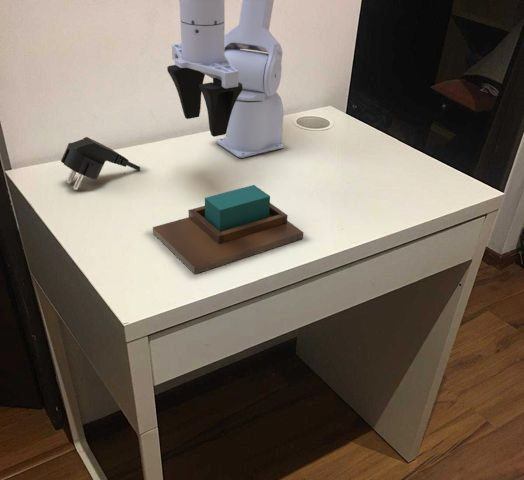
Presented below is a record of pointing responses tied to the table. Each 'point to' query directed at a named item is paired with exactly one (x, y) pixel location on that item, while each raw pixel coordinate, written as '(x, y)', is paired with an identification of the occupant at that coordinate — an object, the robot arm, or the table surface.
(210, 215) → the teal rectangular block
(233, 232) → the brown wooden tray
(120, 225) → the table surface
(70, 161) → the power plug
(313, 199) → the table surface
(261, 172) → the table surface
